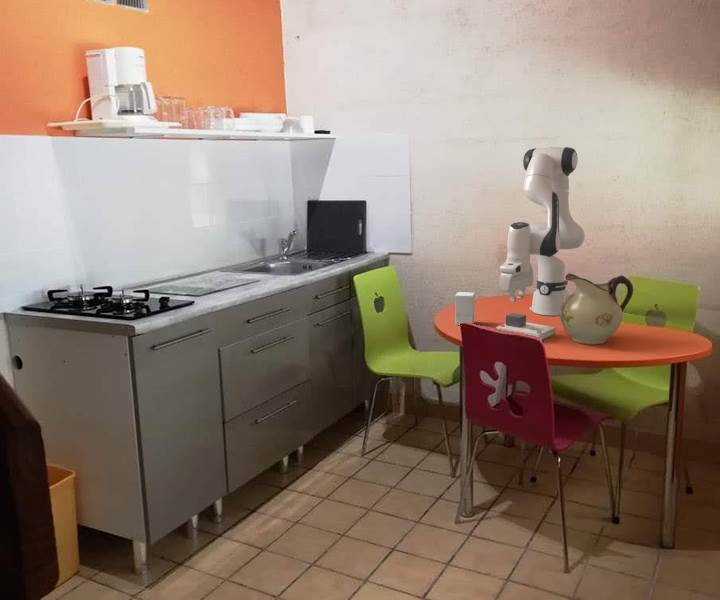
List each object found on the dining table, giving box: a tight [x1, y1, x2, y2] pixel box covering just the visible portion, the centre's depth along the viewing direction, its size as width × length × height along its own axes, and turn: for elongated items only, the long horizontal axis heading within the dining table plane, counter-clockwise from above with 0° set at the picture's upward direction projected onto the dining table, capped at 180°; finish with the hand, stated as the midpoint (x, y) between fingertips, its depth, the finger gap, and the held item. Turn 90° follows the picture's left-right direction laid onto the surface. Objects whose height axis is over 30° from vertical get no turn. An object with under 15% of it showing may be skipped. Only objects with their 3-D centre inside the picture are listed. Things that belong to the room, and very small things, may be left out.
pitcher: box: [559, 272, 634, 345], centre depth 265 cm, size 22×24×25 cm
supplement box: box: [454, 291, 476, 326], centre depth 292 cm, size 7×7×13 cm
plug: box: [505, 312, 527, 328], centre depth 277 cm, size 5×6×6 cm
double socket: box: [496, 321, 557, 341], centre depth 275 cm, size 14×18×4 cm
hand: (516, 300), depth 275 cm, fingers open, 5 cm apart
